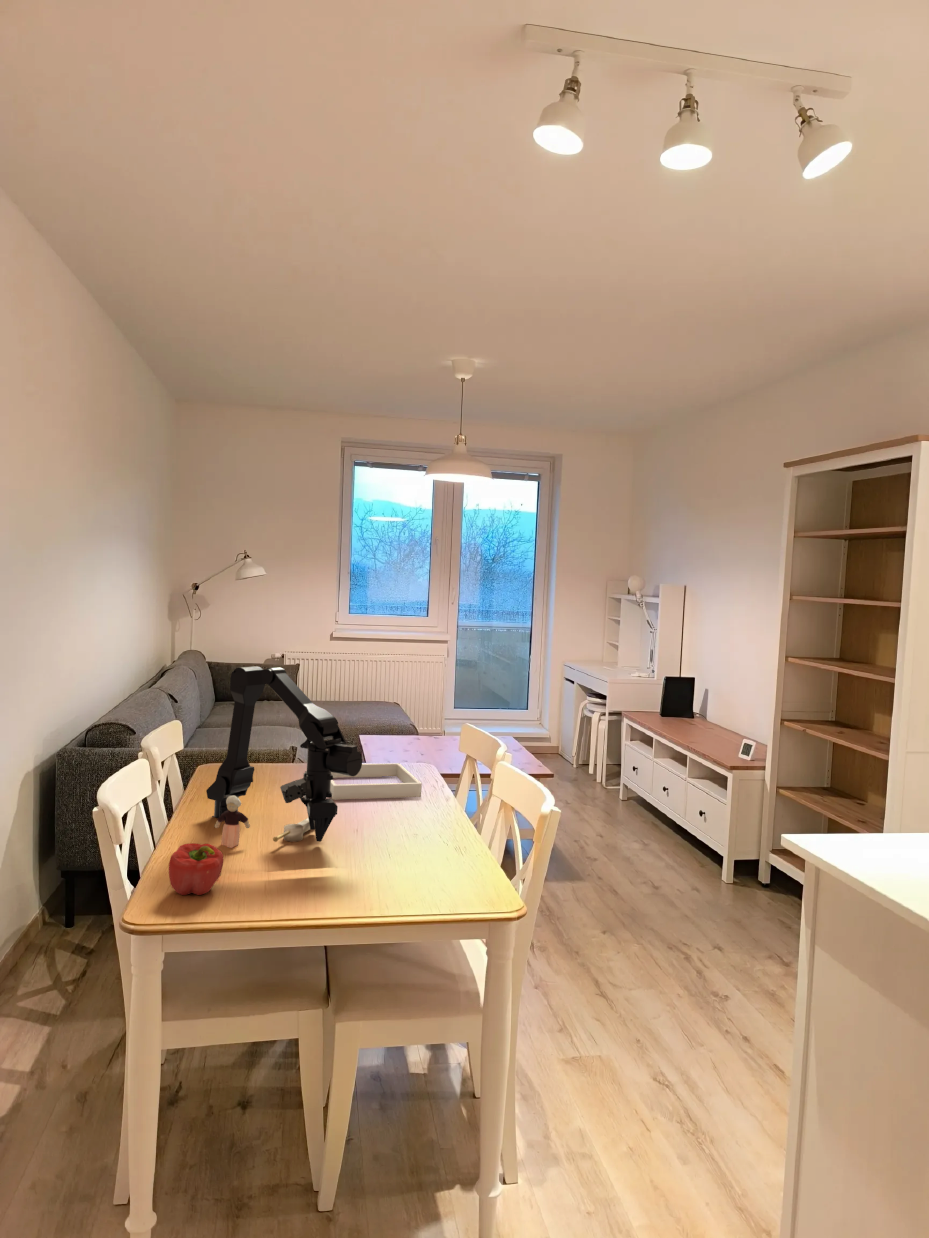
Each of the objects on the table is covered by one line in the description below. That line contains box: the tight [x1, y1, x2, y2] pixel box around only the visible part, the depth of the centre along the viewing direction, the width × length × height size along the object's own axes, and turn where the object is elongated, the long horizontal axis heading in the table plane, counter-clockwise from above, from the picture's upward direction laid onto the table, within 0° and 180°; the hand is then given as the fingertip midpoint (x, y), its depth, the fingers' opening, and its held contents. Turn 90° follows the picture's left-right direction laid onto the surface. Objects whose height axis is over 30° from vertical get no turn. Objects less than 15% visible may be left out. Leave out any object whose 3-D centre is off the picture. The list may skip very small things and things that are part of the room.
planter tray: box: [330, 762, 423, 801], centre depth 249 cm, size 26×26×4 cm
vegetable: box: [168, 843, 224, 896], centre depth 161 cm, size 11×10×10 cm
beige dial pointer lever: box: [272, 817, 311, 843], centre depth 193 cm, size 19×4×3 cm, turn 163°
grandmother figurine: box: [214, 795, 251, 848], centre depth 185 cm, size 8×4×13 cm, turn 105°
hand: (315, 835), depth 192 cm, fingers open, 9 cm apart
